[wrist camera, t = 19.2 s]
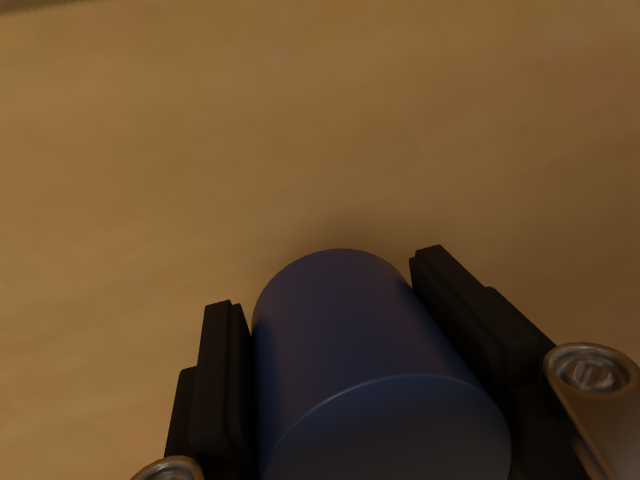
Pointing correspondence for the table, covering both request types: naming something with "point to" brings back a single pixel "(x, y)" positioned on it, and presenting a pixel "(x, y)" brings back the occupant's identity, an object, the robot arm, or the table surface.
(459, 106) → the table surface
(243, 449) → the robot arm
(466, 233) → the table surface
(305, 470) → the blue mallet
